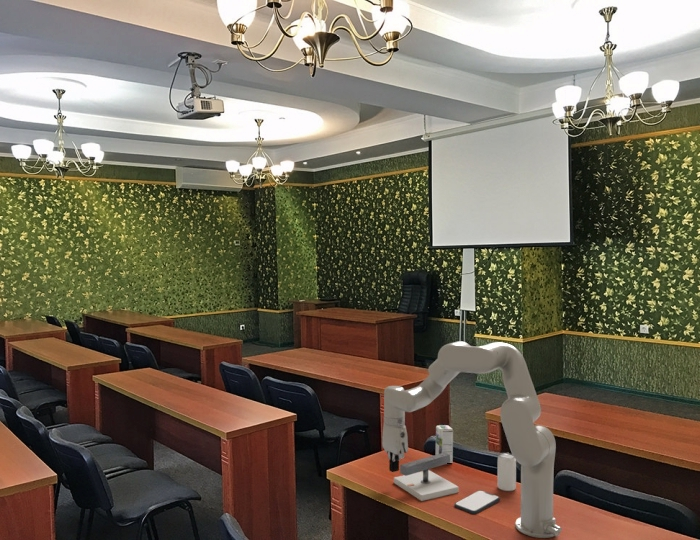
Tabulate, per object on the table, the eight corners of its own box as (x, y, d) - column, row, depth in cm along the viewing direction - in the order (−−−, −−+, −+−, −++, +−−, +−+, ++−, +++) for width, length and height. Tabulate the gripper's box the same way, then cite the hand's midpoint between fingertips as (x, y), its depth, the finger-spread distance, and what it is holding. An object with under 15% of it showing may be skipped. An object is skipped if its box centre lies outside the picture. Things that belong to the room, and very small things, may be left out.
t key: (443, 473, 214) (444, 452, 214) (449, 476, 212) (449, 454, 212) (400, 487, 201) (400, 464, 201) (405, 490, 199) (405, 467, 199)
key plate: (458, 492, 202) (458, 486, 202) (421, 501, 195) (421, 494, 195) (429, 475, 218) (429, 469, 218) (393, 482, 211) (393, 476, 211)
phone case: (474, 516, 184) (501, 501, 195) (474, 511, 184) (501, 496, 195) (452, 508, 191) (479, 493, 202) (452, 503, 191) (479, 489, 202)
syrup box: (434, 460, 235) (435, 425, 235) (448, 459, 236) (448, 424, 236) (439, 464, 229) (439, 429, 229) (453, 464, 230) (453, 428, 230)
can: (513, 484, 209) (514, 452, 209) (517, 492, 203) (517, 458, 202) (496, 484, 210) (496, 452, 210) (498, 491, 203) (499, 458, 203)
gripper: (415, 424, 201) (415, 475, 202) (390, 414, 214) (390, 462, 214) (398, 427, 197) (398, 479, 197) (374, 417, 210) (373, 466, 210)
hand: (394, 470), depth 206 cm, fingers closed
